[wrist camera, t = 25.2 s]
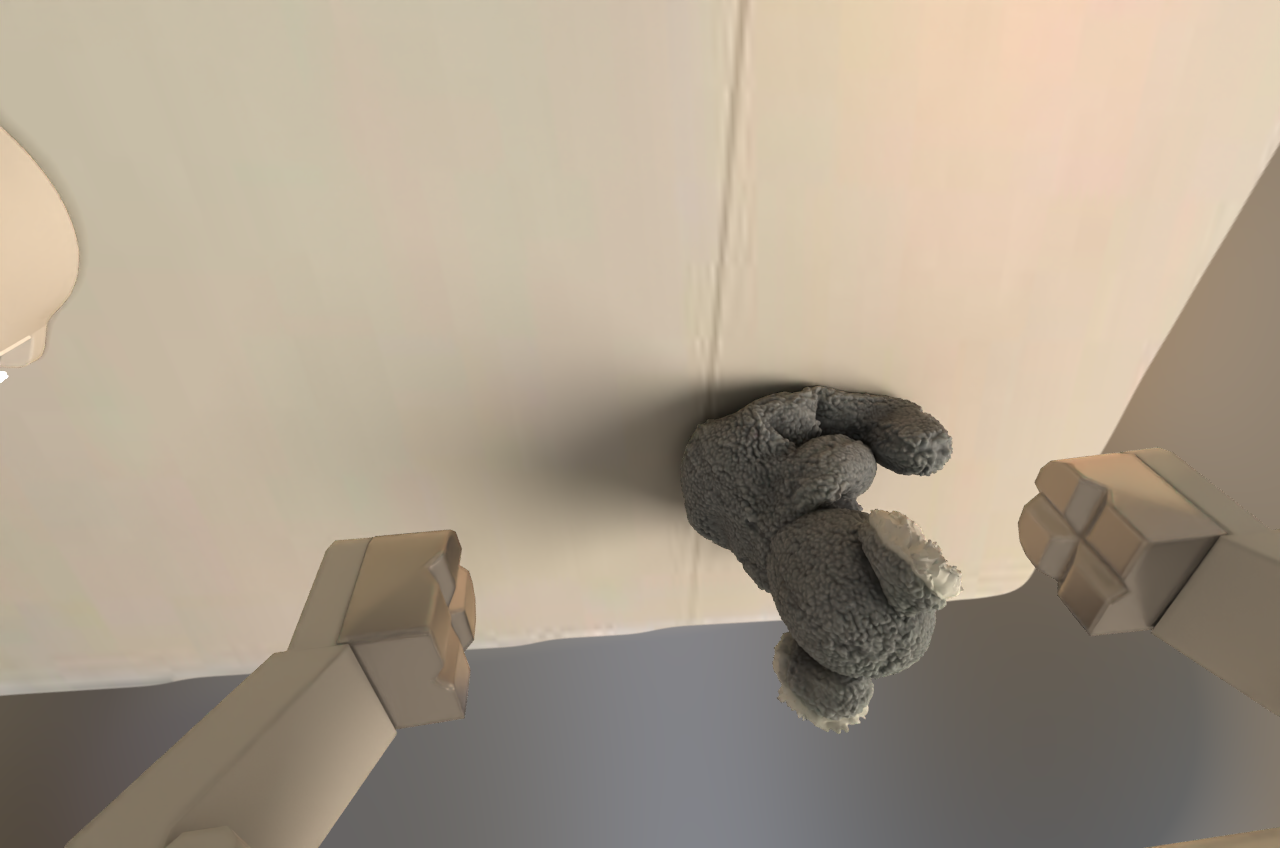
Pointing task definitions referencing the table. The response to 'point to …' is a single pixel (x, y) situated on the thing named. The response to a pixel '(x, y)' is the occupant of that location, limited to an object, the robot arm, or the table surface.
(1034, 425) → the table surface
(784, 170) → the table surface
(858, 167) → the table surface
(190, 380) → the table surface
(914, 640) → the koala plush
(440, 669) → the robot arm
